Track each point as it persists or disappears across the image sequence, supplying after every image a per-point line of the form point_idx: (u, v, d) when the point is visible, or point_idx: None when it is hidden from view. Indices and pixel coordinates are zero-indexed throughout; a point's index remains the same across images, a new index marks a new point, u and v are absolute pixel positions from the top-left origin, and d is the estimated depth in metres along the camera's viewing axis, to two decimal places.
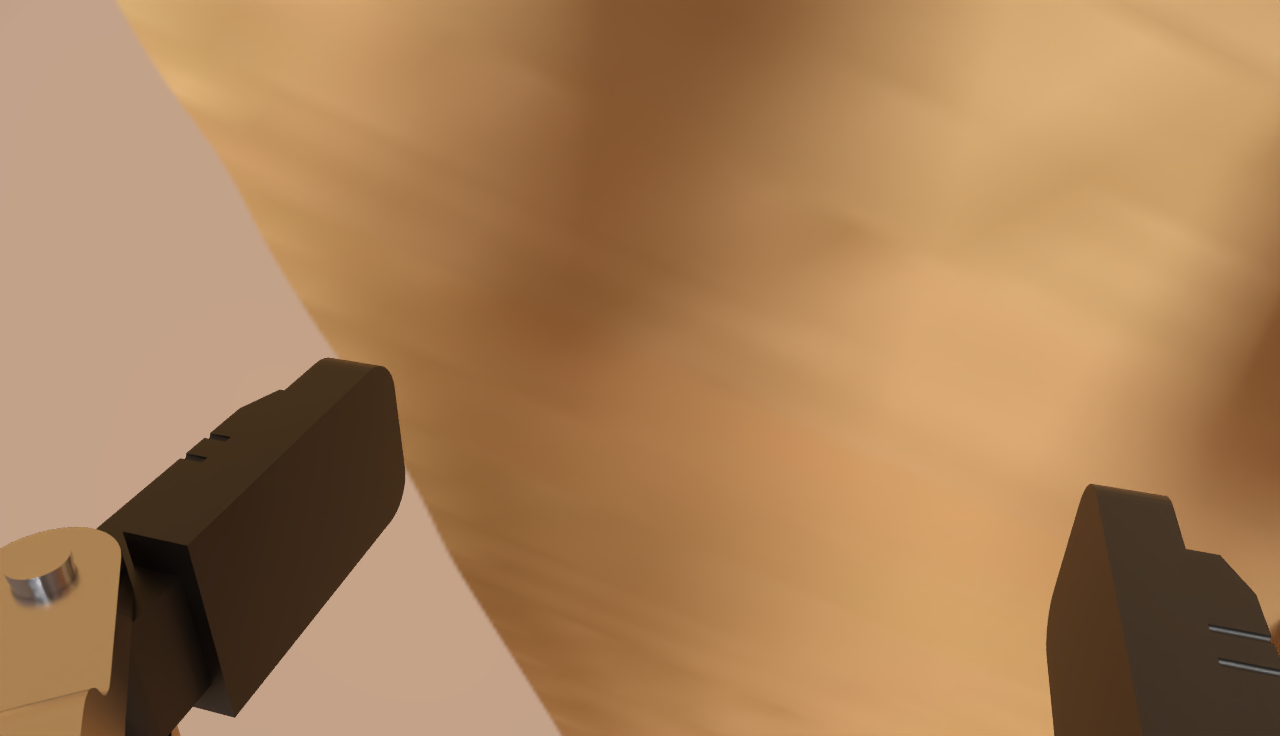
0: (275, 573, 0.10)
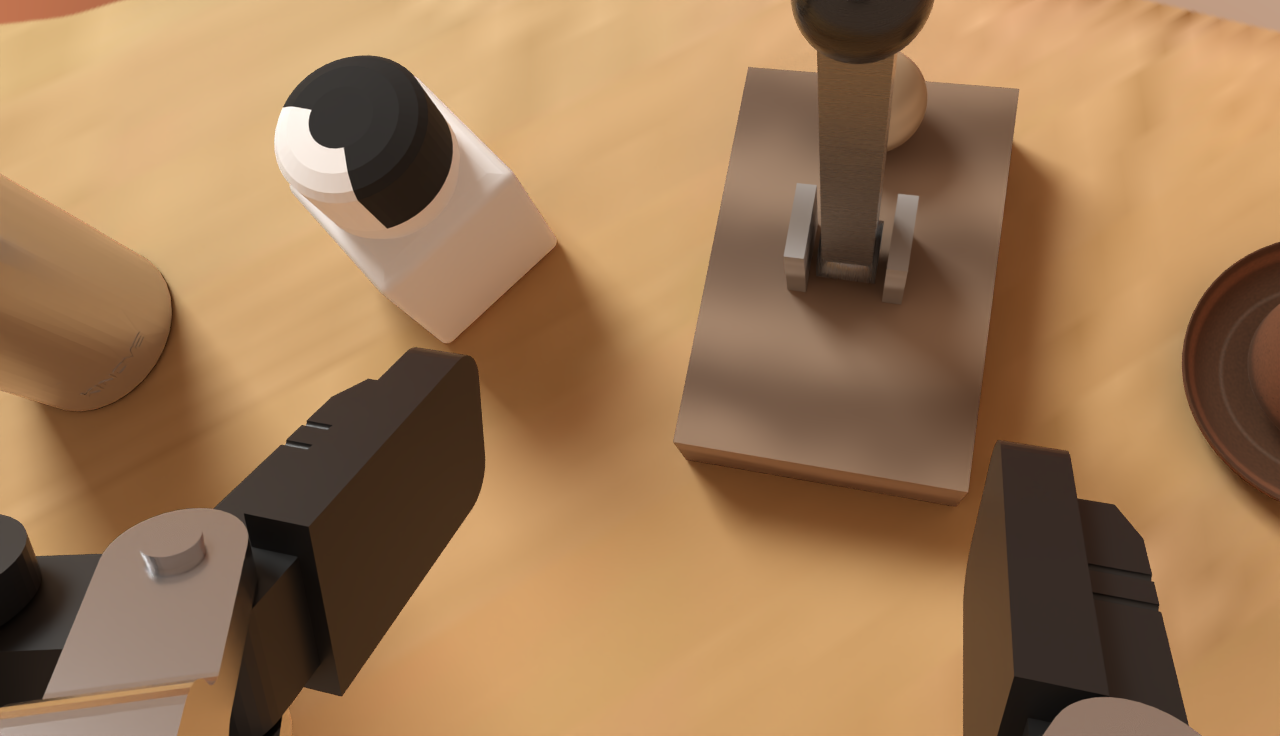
0: (376, 556, 0.10)
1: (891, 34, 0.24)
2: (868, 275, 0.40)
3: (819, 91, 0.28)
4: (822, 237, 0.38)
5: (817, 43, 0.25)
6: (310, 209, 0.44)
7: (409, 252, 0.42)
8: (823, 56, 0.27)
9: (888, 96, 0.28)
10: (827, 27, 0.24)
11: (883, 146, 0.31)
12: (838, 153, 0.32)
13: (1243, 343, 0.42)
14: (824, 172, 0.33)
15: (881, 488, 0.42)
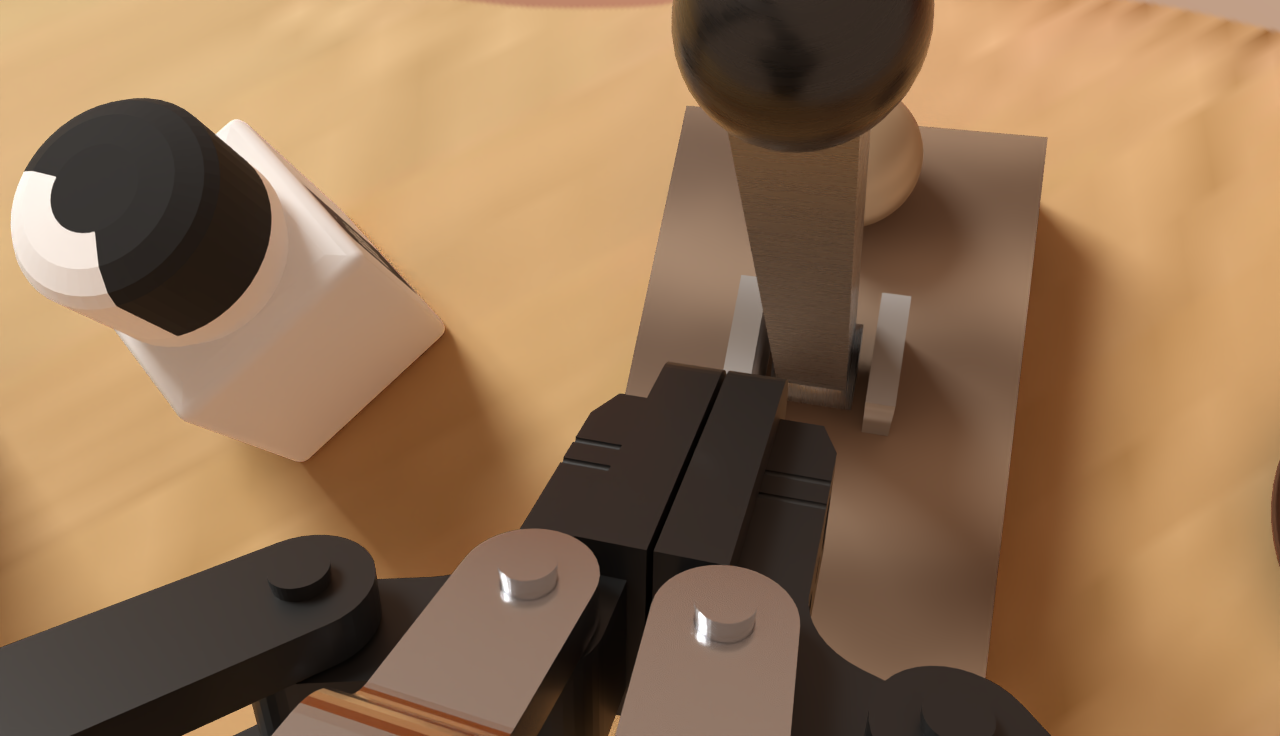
0: None
1: (850, 106, 0.13)
2: (841, 401, 0.29)
3: (740, 184, 0.17)
4: (774, 358, 0.27)
5: (718, 118, 0.14)
6: None
7: (217, 364, 0.31)
8: None
9: (854, 195, 0.16)
10: (731, 92, 0.13)
11: (851, 260, 0.19)
12: (782, 267, 0.20)
13: None
14: (765, 287, 0.22)
15: None
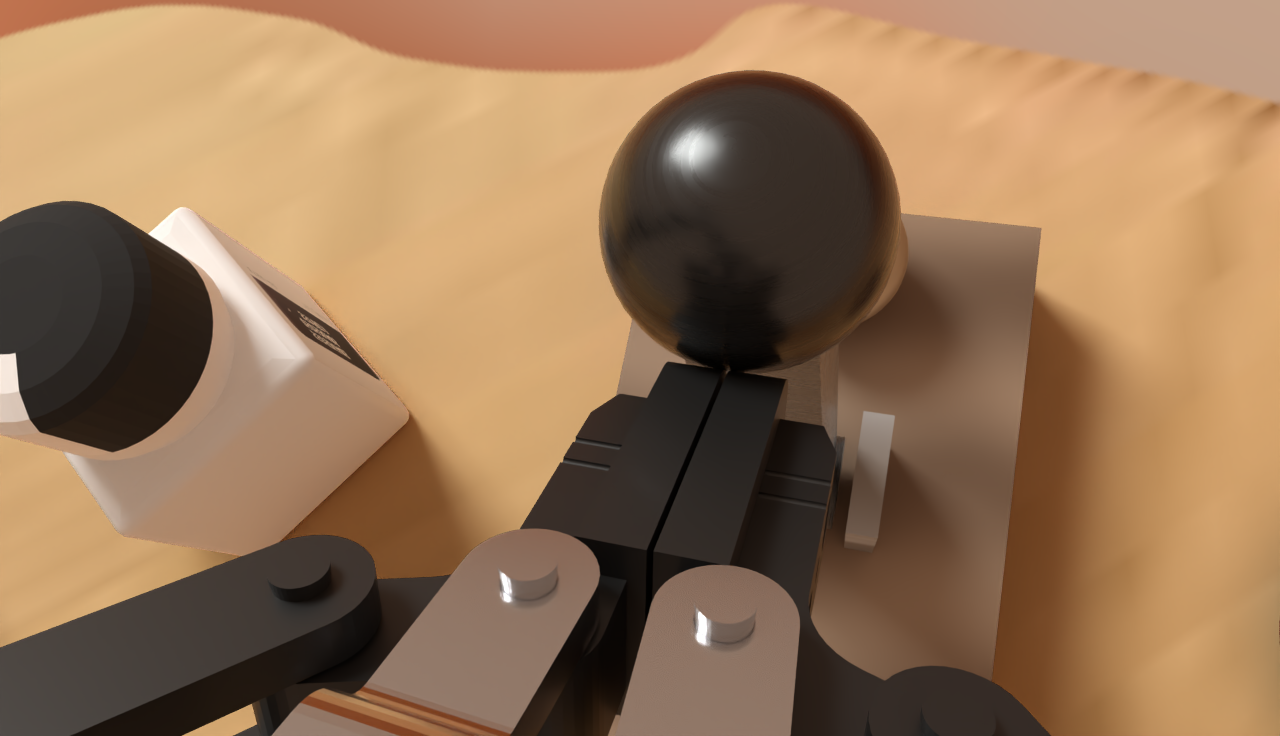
0: None
1: (803, 341, 0.11)
2: None
3: None
4: None
5: (652, 339, 0.12)
6: None
7: (158, 476, 0.29)
8: None
9: (818, 386, 0.15)
10: (663, 323, 0.11)
11: None
12: None
13: None
14: None
15: None
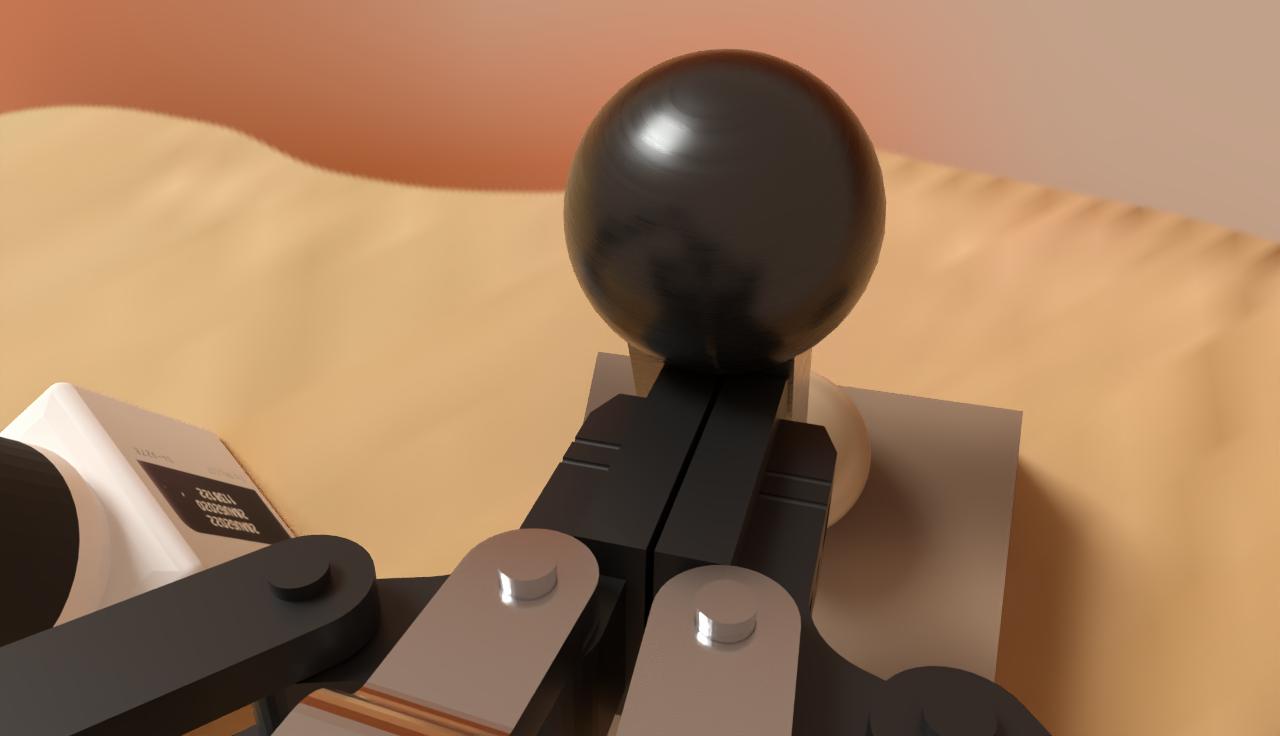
0: None
1: (781, 300, 0.10)
2: None
3: None
4: None
5: (612, 314, 0.11)
6: None
7: None
8: (642, 357, 0.12)
9: None
10: (628, 272, 0.10)
11: None
12: None
13: None
14: None
15: None
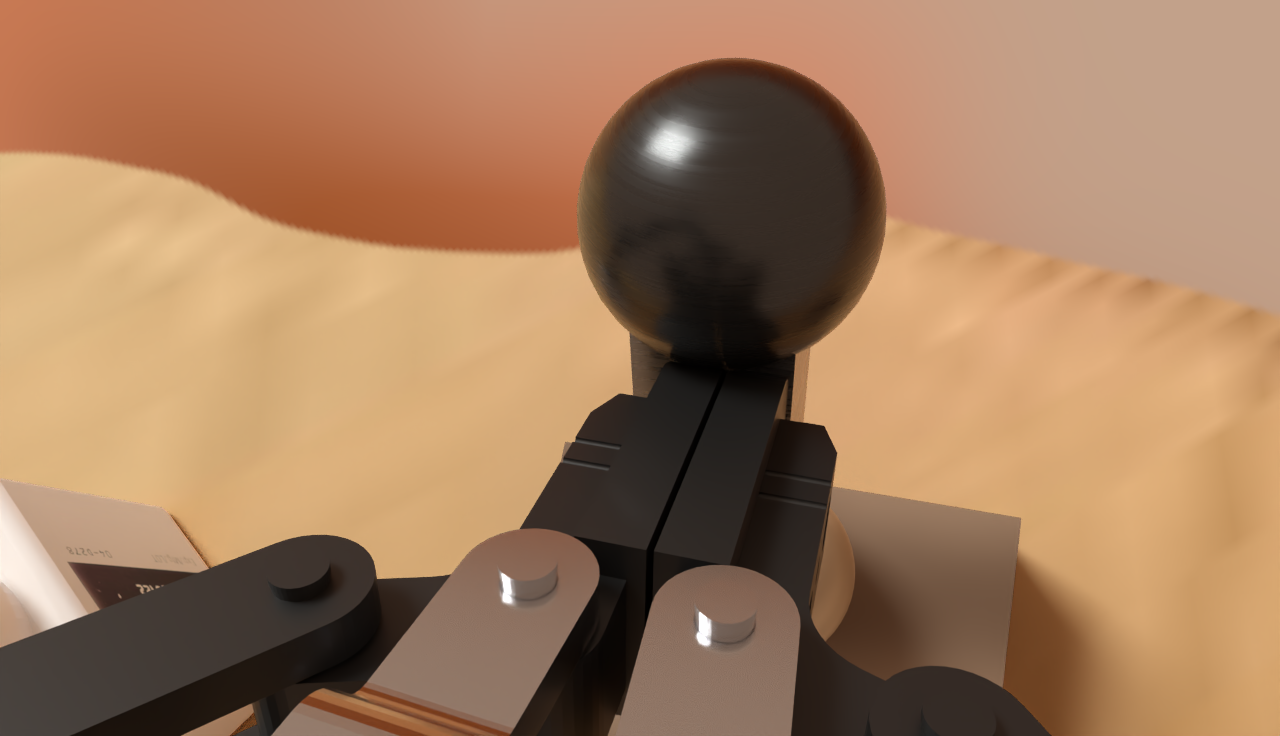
0: None
1: (789, 269, 0.10)
2: None
3: None
4: None
5: (620, 290, 0.11)
6: None
7: None
8: (643, 359, 0.12)
9: None
10: (640, 238, 0.10)
11: None
12: None
13: None
14: None
15: None
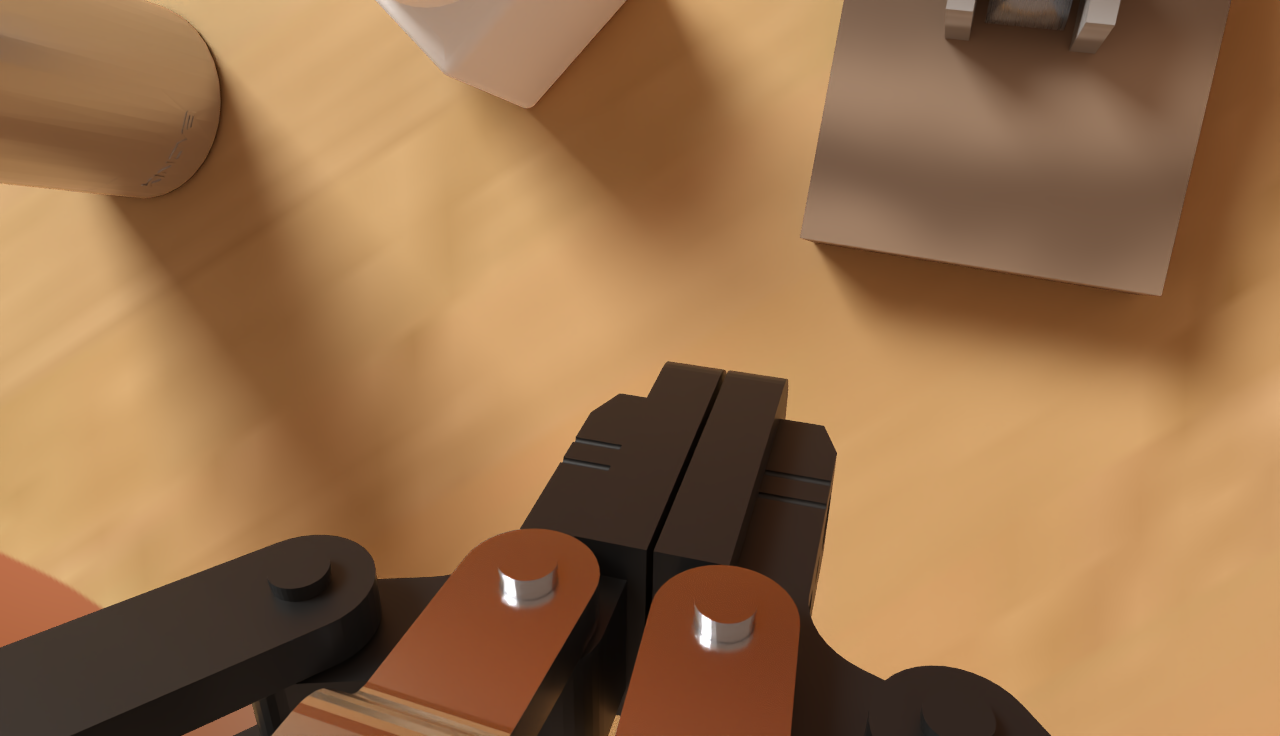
0: None
1: None
2: (1062, 1, 0.30)
3: None
4: None
5: None
6: None
7: (470, 21, 0.35)
8: None
9: None
10: None
11: None
12: None
13: None
14: None
15: (1048, 279, 0.36)
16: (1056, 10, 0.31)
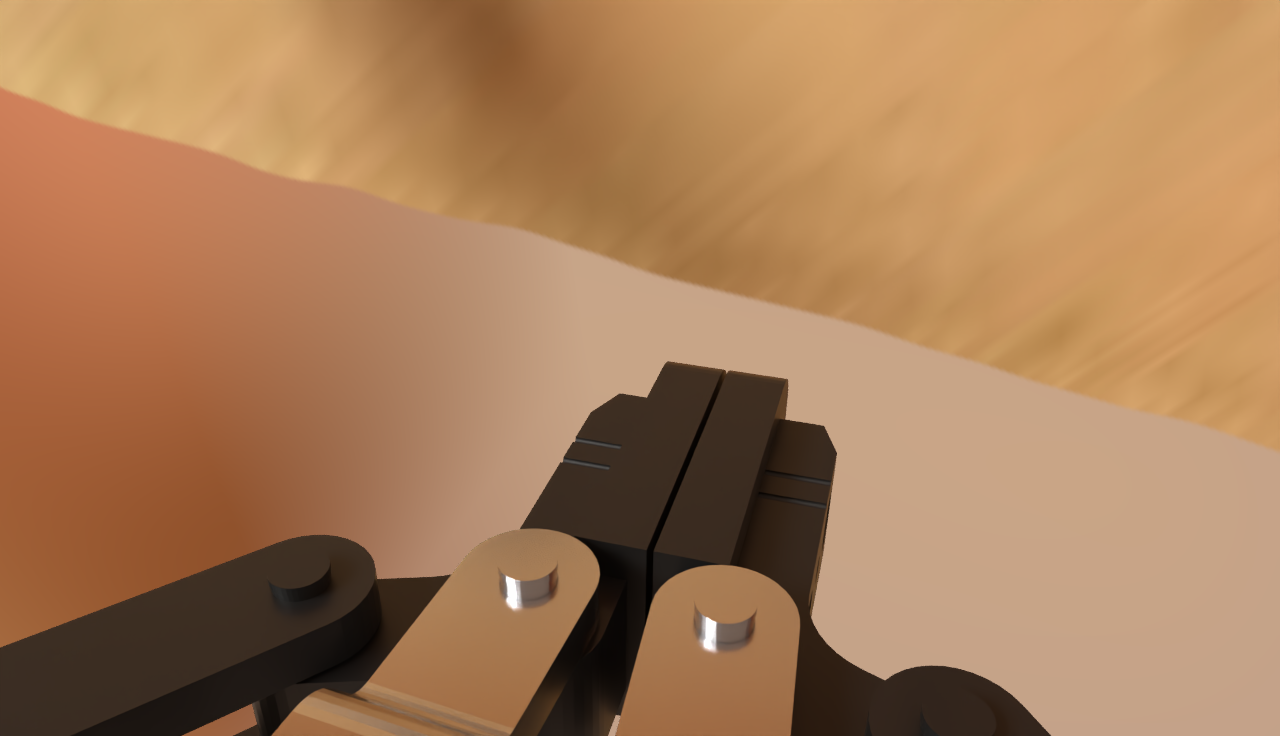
0: None
1: None
2: None
3: None
4: None
5: None
6: None
7: None
8: None
9: None
10: None
11: None
12: None
13: None
14: None
15: None
16: None
